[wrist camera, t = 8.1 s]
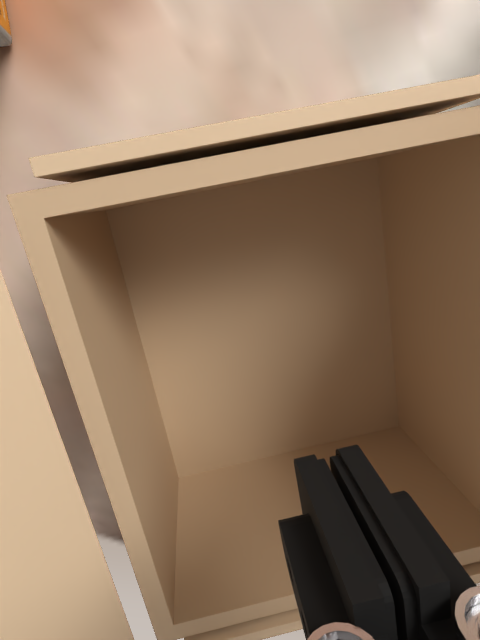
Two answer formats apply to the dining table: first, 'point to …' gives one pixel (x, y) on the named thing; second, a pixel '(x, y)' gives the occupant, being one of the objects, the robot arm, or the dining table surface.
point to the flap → (44, 516)
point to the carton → (268, 332)
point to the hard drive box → (4, 26)
